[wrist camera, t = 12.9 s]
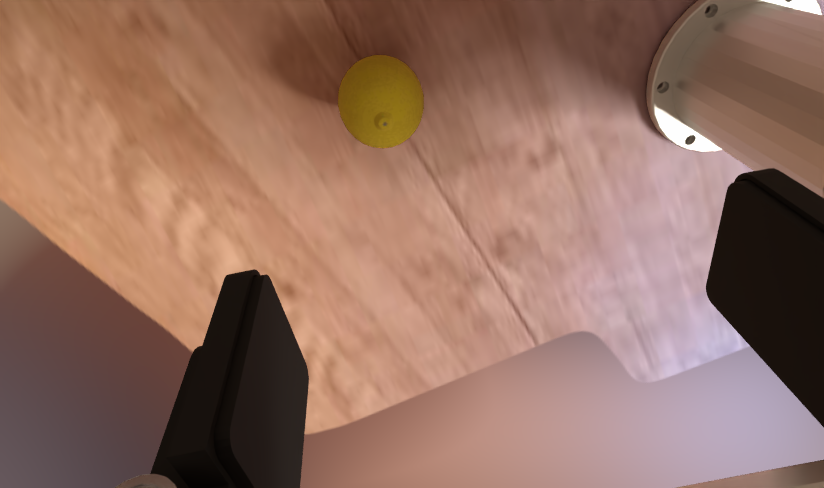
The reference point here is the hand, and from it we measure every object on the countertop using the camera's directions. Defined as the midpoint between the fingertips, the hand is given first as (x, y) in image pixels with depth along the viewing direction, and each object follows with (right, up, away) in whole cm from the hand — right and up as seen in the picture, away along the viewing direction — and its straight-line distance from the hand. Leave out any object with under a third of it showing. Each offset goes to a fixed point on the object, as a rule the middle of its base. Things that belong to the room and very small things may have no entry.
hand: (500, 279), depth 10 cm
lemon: (-4, +12, +26) cm, 29 cm away
